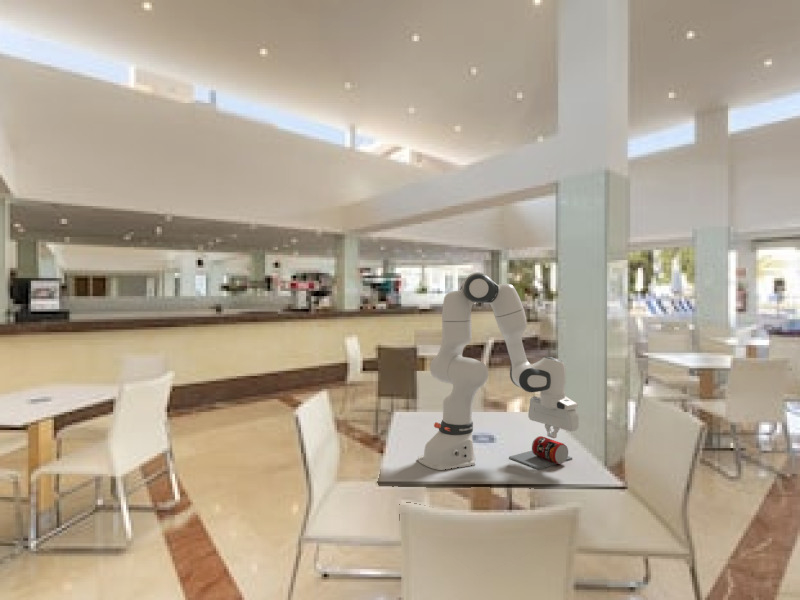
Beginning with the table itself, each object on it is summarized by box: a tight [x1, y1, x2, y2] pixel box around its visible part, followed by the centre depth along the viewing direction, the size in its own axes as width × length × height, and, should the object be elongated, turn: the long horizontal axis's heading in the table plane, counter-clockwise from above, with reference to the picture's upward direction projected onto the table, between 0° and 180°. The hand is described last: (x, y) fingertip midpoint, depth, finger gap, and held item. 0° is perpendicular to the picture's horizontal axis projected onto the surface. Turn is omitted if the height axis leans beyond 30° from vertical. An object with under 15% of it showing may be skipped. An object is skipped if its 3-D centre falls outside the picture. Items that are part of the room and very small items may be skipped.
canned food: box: [531, 435, 569, 465], centre depth 177 cm, size 8×8×11 cm
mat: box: [508, 450, 573, 470], centre depth 180 cm, size 20×14×1 cm
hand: (551, 437), depth 176 cm, fingers closed
